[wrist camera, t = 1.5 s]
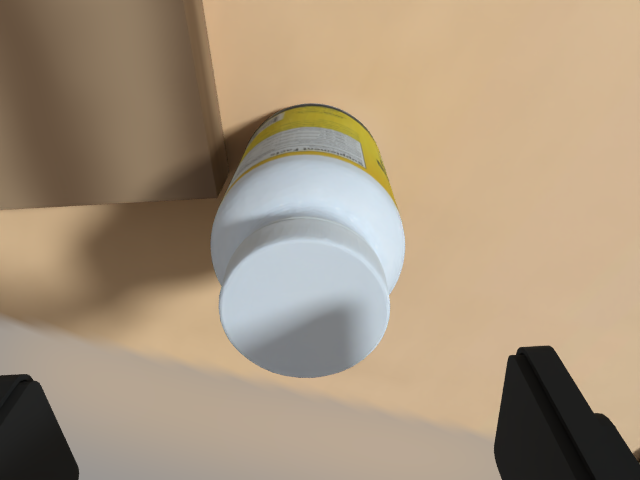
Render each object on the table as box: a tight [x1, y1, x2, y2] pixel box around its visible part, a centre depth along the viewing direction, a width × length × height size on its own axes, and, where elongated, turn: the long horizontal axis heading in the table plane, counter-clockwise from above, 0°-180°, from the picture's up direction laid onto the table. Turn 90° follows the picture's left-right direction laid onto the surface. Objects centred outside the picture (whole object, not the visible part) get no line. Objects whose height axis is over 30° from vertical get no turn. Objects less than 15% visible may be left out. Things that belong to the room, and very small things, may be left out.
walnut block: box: [0, 0, 229, 210], centre depth 20 cm, size 12×12×3 cm
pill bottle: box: [211, 103, 405, 378], centre depth 19 cm, size 6×6×12 cm
